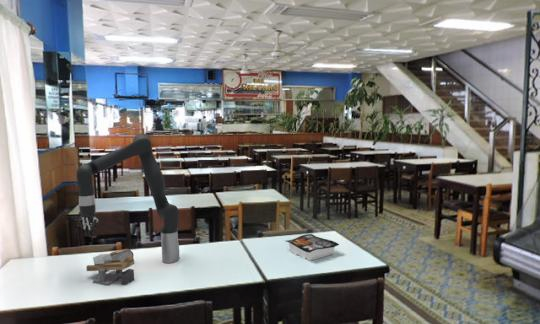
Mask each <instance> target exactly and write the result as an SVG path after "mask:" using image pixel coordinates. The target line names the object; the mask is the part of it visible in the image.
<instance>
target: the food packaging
mask: <svg viewBox="0 0 540 324" xmlns="http://www.w3.org/2000/svg"><path fill="white" fill-rule="evenodd" d="M285 242H286V243H288V247H289V250H290V252H291V253H292V254H294V255H295V256H297V255H298V256H299V257H302V259H303V260H308V261H309V262H310V261H311V262H312V261H315V260H318V259H321V258H325V257H328V256H331V255H333V253H334V252H335V247H338V246H340V243H338V242H336V241H334V240H330V239H327V238H323V237H319V236H316V235H314V234H312V233H310V234H309V233H308V234H304V235H300V236H298V237H296V238H293V239H288V240H285Z"/></svg>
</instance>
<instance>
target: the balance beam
mask: <svg viewBox="0 0 540 324" xmlns="http://www.w3.org/2000/svg"><path fill="white" fill-rule="evenodd" d="M133 255H134V254H133ZM133 255H131V256H129V257H127V258H125V259H122V260H112V263H111V264H106V265H94V264H93V265H92V264H89V265H86V271H87V272H99V269H105V270H106V273H107V272H109V271H114V270H115V271H116V270H125V269H127V268H129V267H132V266H133V265H135V259H134V256H133Z"/></svg>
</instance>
